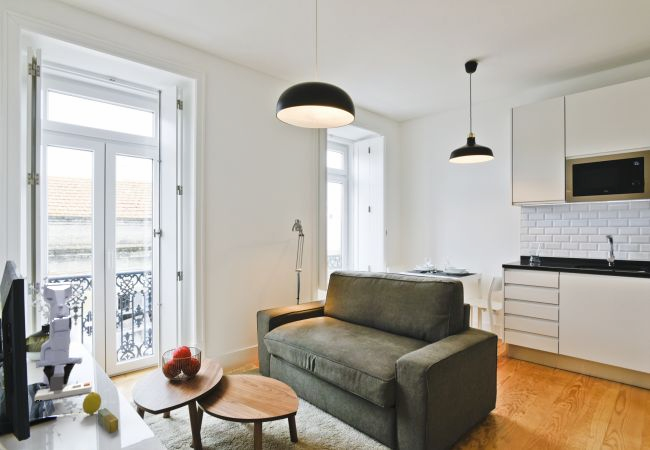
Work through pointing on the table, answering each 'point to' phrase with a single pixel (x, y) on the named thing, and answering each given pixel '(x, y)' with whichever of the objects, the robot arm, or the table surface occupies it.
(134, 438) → the table surface
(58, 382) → the block
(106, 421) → the medication box
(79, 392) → the power strip
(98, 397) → the lemon
